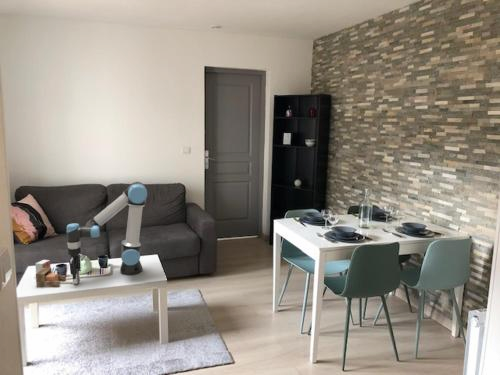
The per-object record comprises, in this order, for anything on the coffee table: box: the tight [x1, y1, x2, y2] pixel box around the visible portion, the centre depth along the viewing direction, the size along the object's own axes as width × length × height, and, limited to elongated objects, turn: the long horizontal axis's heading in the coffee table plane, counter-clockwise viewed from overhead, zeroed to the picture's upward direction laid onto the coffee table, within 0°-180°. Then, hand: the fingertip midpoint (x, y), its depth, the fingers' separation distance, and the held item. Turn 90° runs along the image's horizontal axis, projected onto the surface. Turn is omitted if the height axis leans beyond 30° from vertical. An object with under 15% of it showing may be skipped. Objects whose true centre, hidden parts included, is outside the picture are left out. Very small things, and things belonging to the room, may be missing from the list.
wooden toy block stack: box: [35, 267, 67, 288], centre depth 269 cm, size 14×11×9 cm
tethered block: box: [45, 268, 80, 285], centre depth 269 cm, size 21×6×10 cm, turn 91°
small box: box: [34, 259, 52, 274], centre depth 282 cm, size 8×6×10 cm
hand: (76, 282), depth 270 cm, fingers closed on tethered block, 3 cm apart
